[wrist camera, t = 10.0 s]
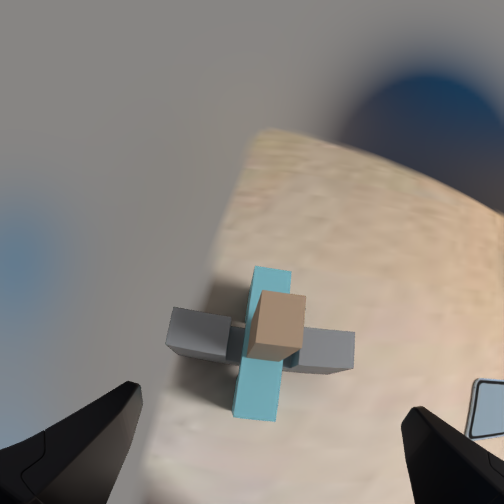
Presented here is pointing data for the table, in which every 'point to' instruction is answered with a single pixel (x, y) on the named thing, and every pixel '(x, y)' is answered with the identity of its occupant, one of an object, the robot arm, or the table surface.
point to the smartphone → (486, 410)
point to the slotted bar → (231, 338)
